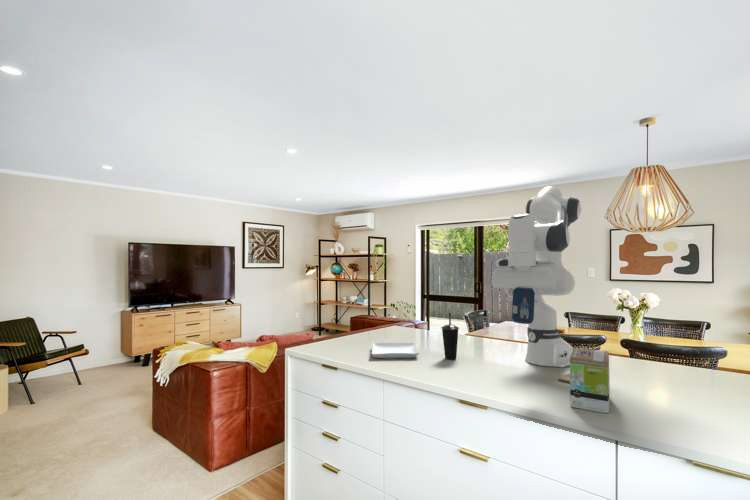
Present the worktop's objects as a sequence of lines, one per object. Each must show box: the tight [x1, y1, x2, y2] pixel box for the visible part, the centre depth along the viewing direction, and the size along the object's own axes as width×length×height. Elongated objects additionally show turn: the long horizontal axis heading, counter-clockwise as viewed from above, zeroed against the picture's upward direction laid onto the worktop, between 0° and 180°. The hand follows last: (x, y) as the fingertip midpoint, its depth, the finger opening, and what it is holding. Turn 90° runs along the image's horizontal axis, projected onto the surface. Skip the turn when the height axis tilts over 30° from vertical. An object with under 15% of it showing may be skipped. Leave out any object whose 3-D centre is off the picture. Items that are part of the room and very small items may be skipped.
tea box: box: [569, 347, 611, 414], centre depth 114 cm, size 15×10×15 cm, turn 148°
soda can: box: [511, 287, 535, 325], centre depth 128 cm, size 7×7×12 cm
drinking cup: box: [441, 312, 460, 361], centre depth 167 cm, size 8×8×20 cm
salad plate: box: [371, 342, 420, 359], centre depth 177 cm, size 21×21×3 cm
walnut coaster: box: [557, 372, 570, 384], centre depth 134 cm, size 10×10×1 cm
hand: (523, 301), depth 128 cm, fingers closed on soda can, 7 cm apart
